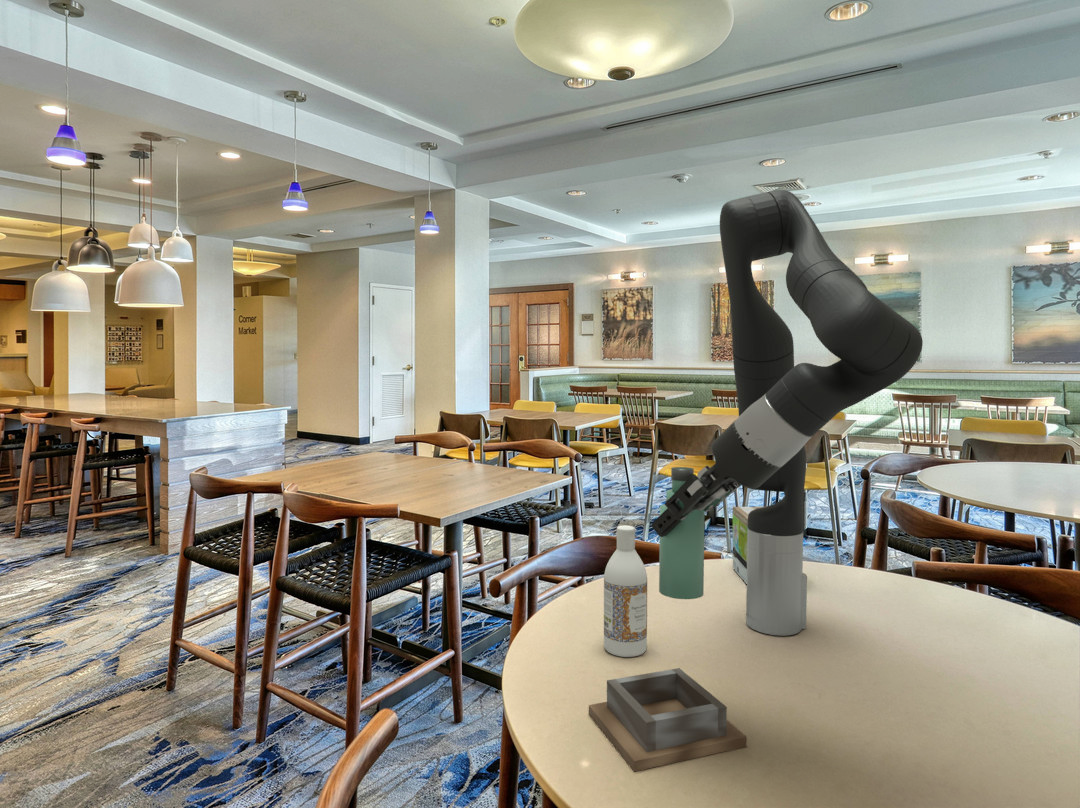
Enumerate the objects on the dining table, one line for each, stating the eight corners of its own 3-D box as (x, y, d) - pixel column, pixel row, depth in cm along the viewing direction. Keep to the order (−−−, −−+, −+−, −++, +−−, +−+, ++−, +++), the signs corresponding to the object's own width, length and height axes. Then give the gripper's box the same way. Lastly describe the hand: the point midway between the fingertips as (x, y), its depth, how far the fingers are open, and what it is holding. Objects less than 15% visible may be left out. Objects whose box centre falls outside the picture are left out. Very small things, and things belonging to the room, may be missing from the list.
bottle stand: (688, 695, 90) (688, 662, 90) (746, 746, 78) (747, 708, 77) (588, 713, 85) (588, 678, 85) (634, 771, 73) (634, 730, 73)
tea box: (730, 569, 148) (731, 504, 147) (775, 569, 147) (776, 505, 147) (749, 591, 133) (751, 520, 132) (799, 592, 132) (800, 520, 132)
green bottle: (688, 583, 87) (689, 465, 87) (712, 596, 82) (713, 470, 81) (651, 587, 85) (652, 466, 85) (673, 601, 80) (674, 472, 79)
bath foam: (622, 662, 100) (623, 534, 99) (595, 646, 106) (595, 525, 105) (655, 651, 104) (656, 528, 103) (627, 636, 110) (627, 520, 109)
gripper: (760, 415, 84) (675, 497, 92) (714, 419, 73) (622, 512, 80) (802, 459, 81) (710, 540, 88) (761, 471, 69) (660, 562, 77)
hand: (668, 526), depth 84 cm, fingers closed on green bottle, 5 cm apart
